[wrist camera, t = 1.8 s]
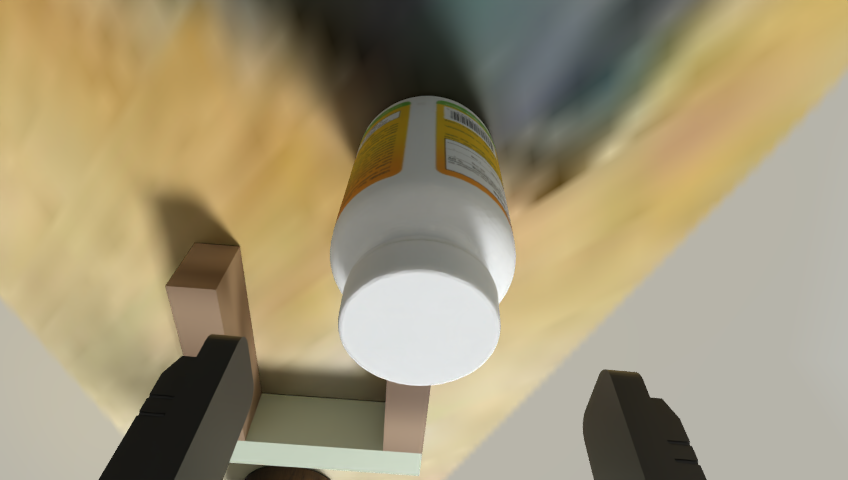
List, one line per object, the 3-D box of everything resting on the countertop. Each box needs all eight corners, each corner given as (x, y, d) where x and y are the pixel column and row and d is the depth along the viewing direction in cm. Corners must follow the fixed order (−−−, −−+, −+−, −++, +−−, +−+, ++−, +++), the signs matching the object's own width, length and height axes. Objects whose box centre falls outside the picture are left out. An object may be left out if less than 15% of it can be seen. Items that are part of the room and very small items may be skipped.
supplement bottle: (366, 217, 22) (323, 405, 14) (352, 93, 19) (288, 244, 11) (493, 216, 22) (522, 406, 14) (499, 90, 19) (540, 241, 11)
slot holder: (194, 243, 23) (165, 285, 21) (440, 262, 24) (440, 307, 21) (230, 413, 30) (211, 461, 28) (421, 427, 30) (419, 475, 28)
